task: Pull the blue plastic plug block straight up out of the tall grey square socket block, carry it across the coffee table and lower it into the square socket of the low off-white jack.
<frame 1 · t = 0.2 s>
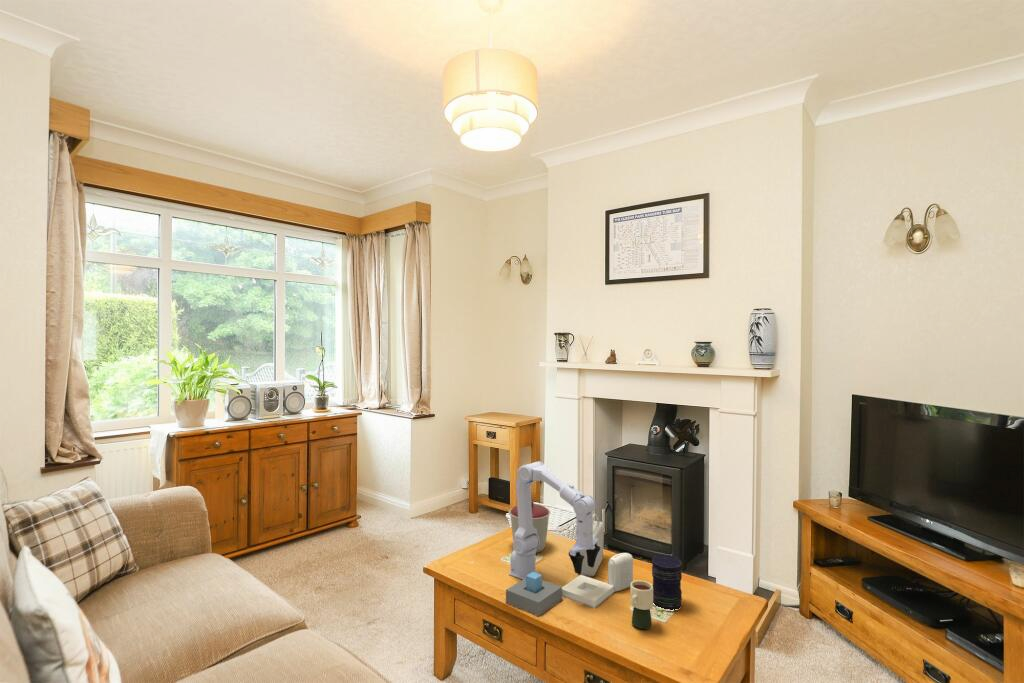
hand: (584, 569, 183), 10 cm above the table, tool pointing down, fingers open, 7 cm apart
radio: (588, 567, 209), on the table
grey square socket block: (534, 601, 181), on the table
plug: (534, 598, 181), point 1 cm above the table, touching grey square socket block
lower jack: (587, 594, 186), on the table
character mug: (641, 626, 166), on the table
storage jar: (666, 604, 179), on the table
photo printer: (620, 588, 191), on the table
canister: (529, 549, 226), on the table
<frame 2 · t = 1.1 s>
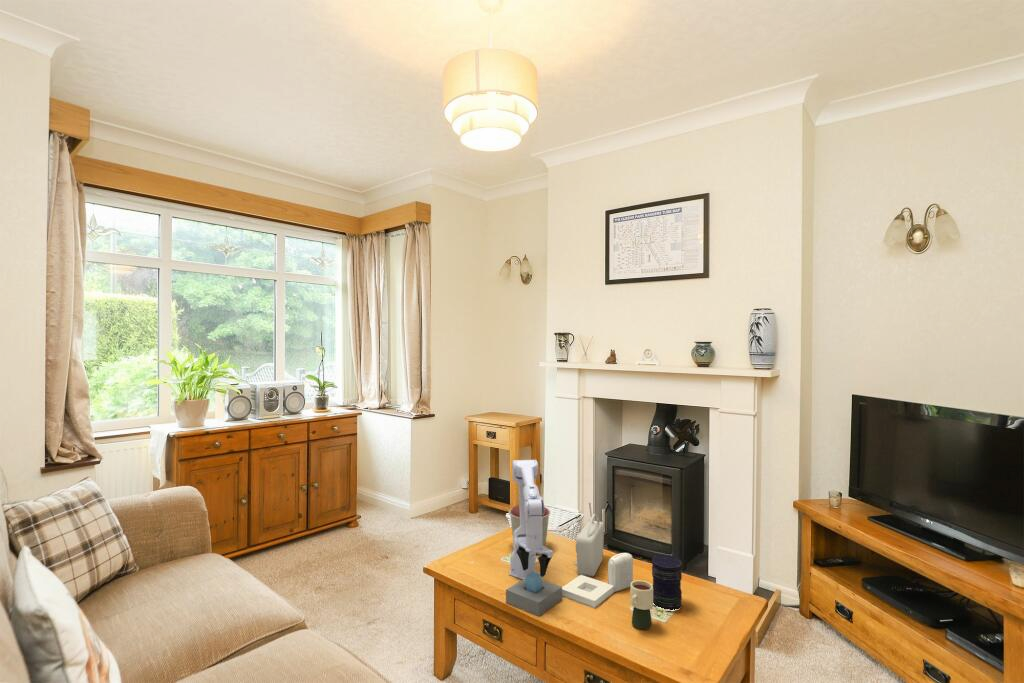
hand: (534, 572, 181), 10 cm above the table, tool pointing down, fingers open, 7 cm apart
nothing on the table moved.
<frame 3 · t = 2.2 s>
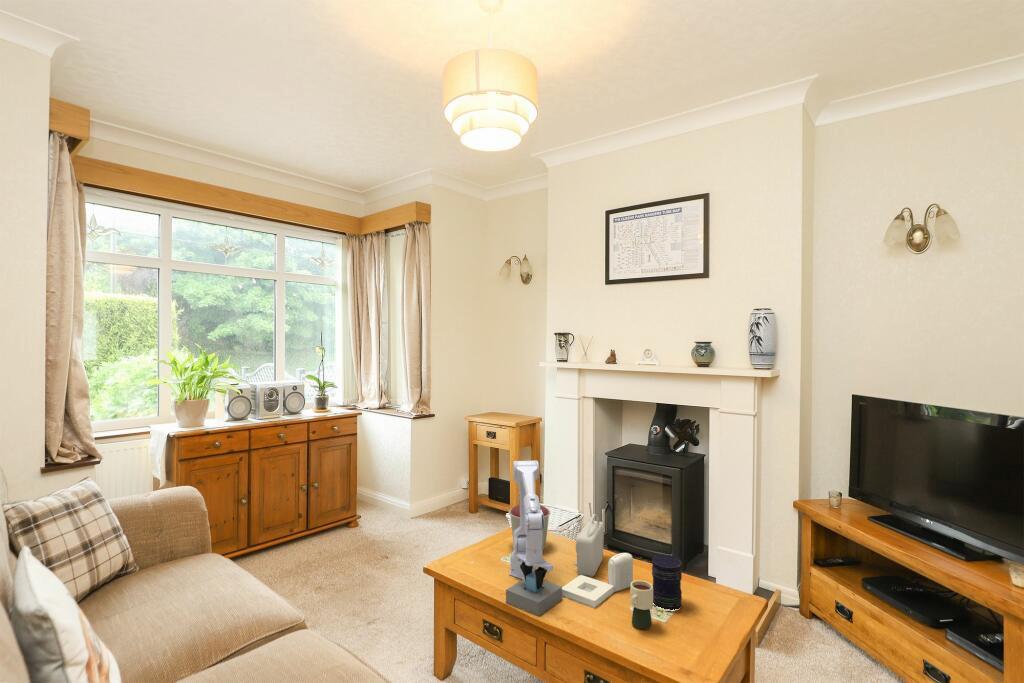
hand: (534, 586, 181), 5 cm above the table, tool pointing down, fingers closed on plug, 4 cm apart
plug: (534, 598, 181), point 1 cm above the table, touching gripper, grey square socket block
everything else where it was.
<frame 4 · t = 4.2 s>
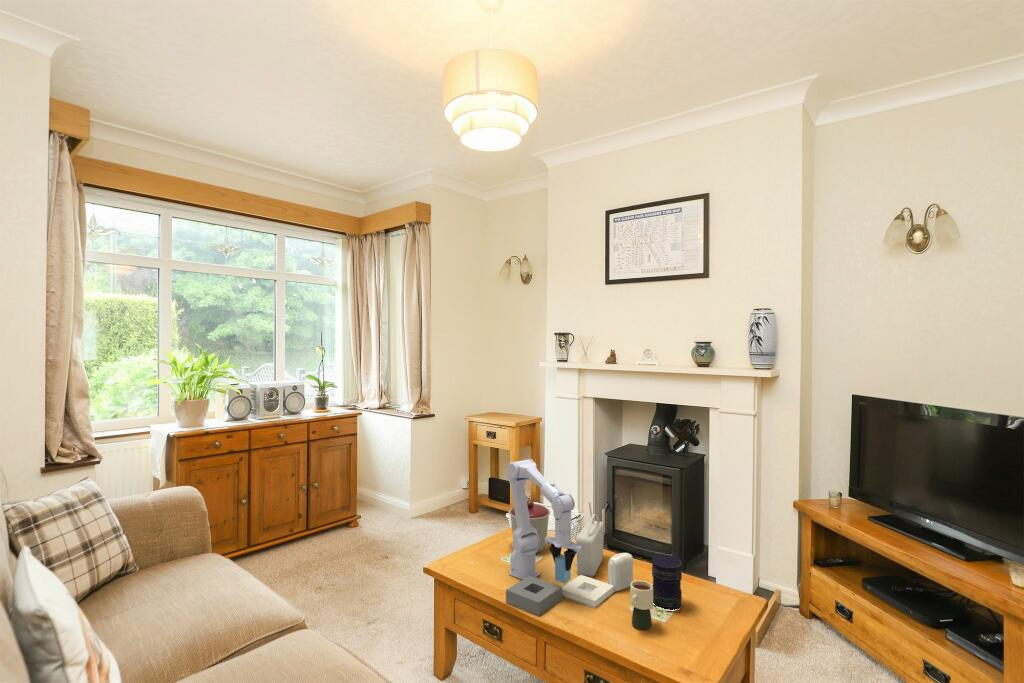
hand: (563, 567, 184), 10 cm above the table, tool pointing down, fingers closed on plug, 4 cm apart
plug: (562, 579, 184), point 6 cm above the table, touching gripper
everything else where it was.
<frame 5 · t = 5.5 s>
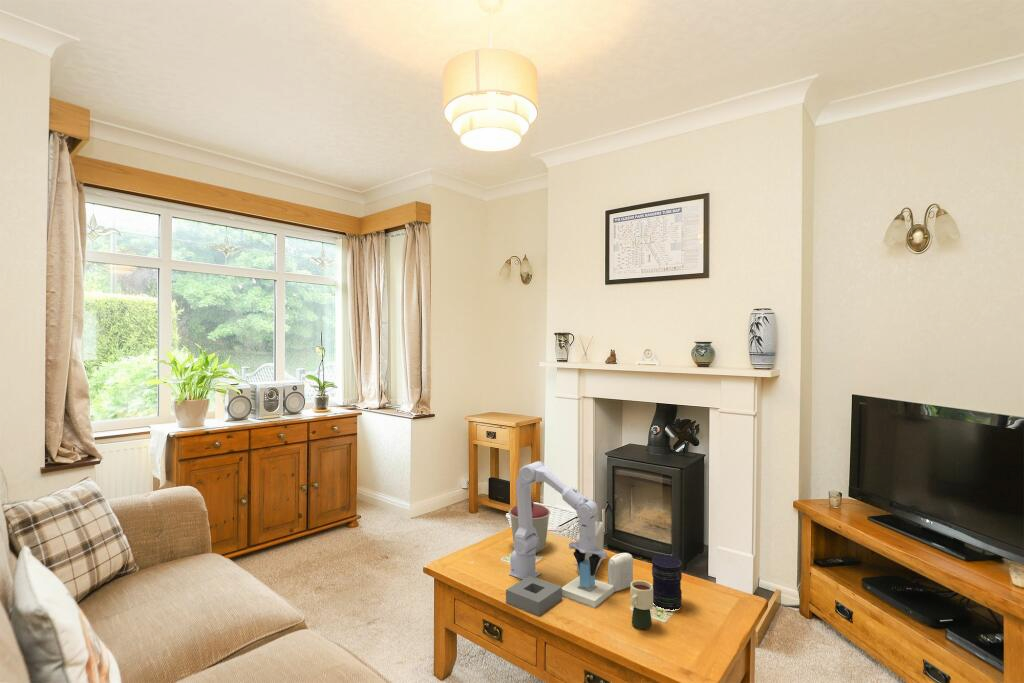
hand: (587, 572, 186), 8 cm above the table, tool pointing down, fingers closed on plug, 4 cm apart
plug: (587, 584, 186), point 3 cm above the table, touching gripper
everything else where it was.
when the fingers open (6 cm above the table, at t = 6.3 s): plug drops 1 cm, resting on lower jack.
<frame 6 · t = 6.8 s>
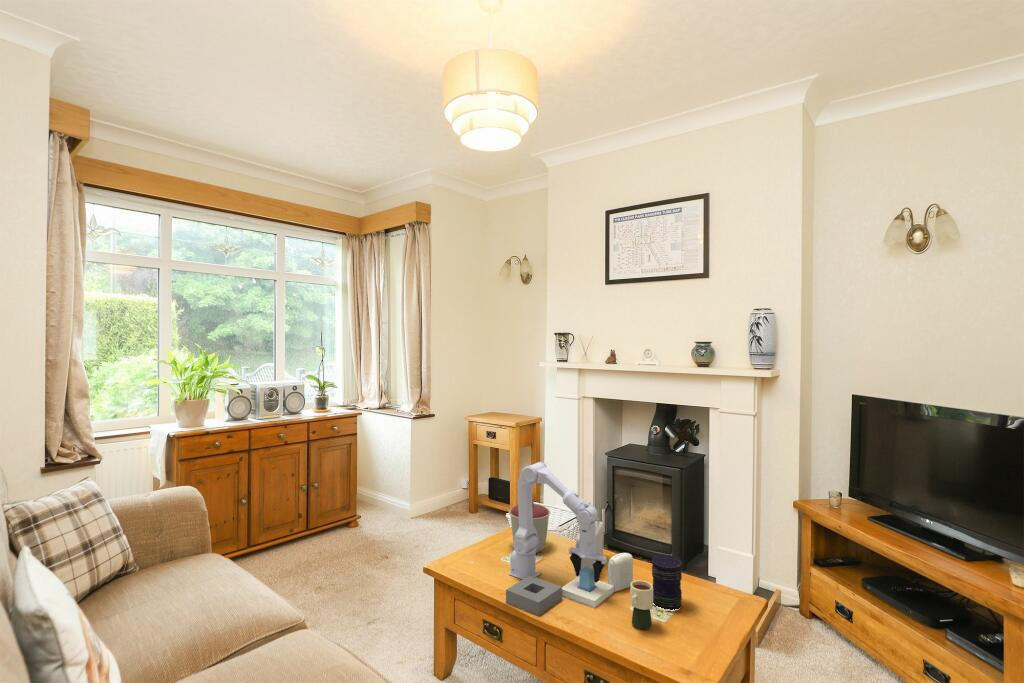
hand: (587, 578, 186), 6 cm above the table, tool pointing down, fingers open, 7 cm apart
plug: (587, 592, 186), resting on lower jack
everything else where it was.
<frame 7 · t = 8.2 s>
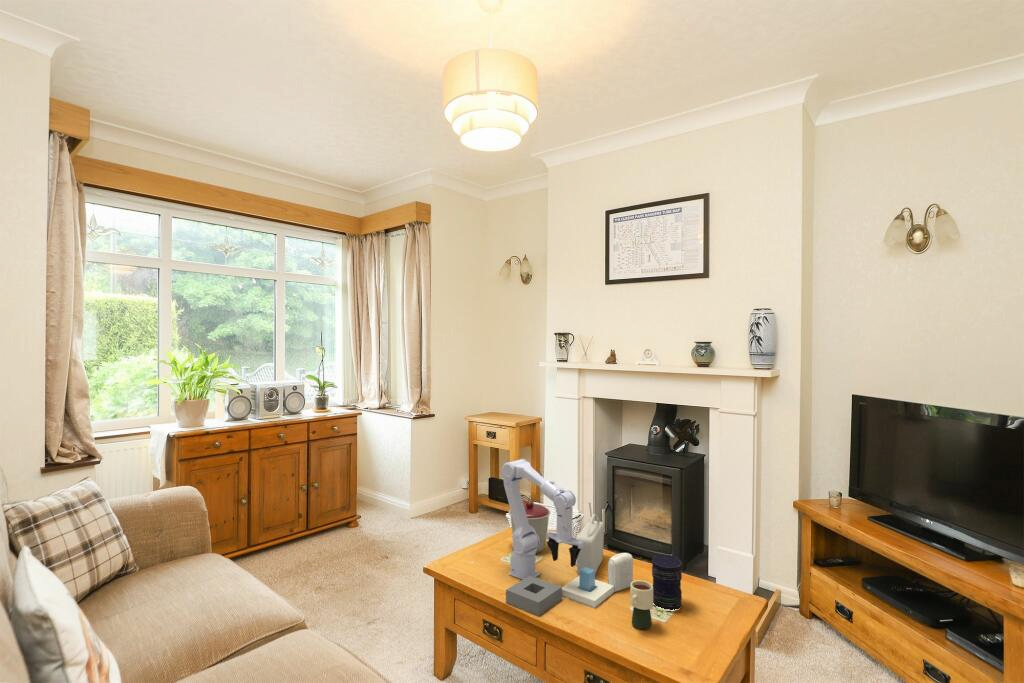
hand: (564, 562, 188), 10 cm above the table, tool pointing down, fingers open, 7 cm apart
nothing on the table moved.
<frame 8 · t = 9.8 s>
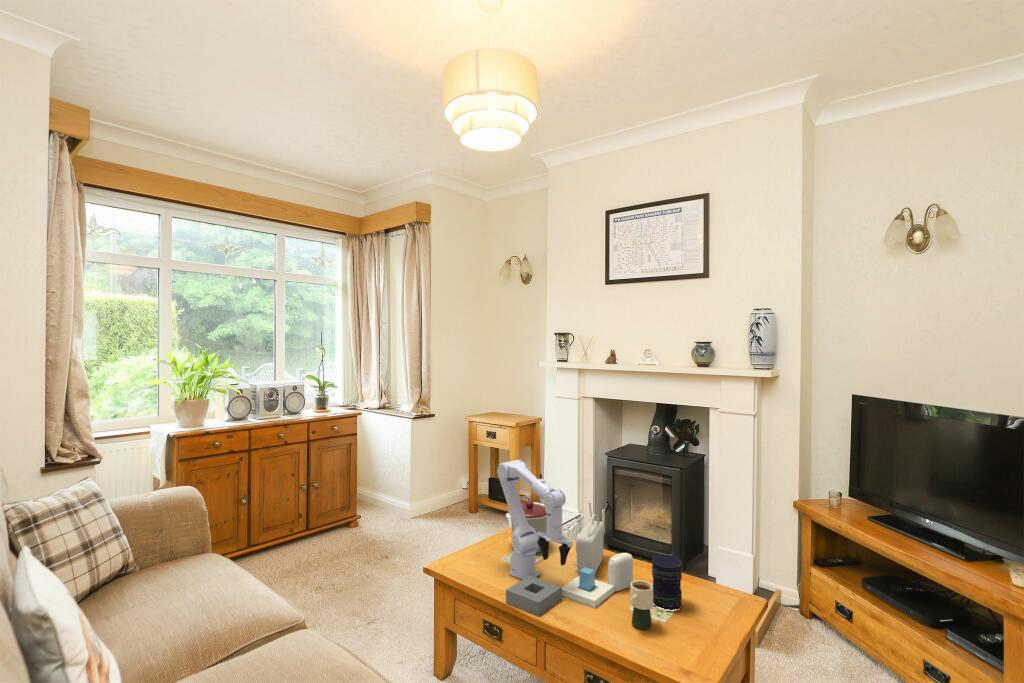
hand: (554, 561, 189), 10 cm above the table, tool pointing down, fingers open, 7 cm apart
nothing on the table moved.
at the end: plug 0.1 cm off-centre on the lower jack, point 0.5 cm above the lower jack's base; plug tilted 0°; the gripper is holding nothing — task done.
